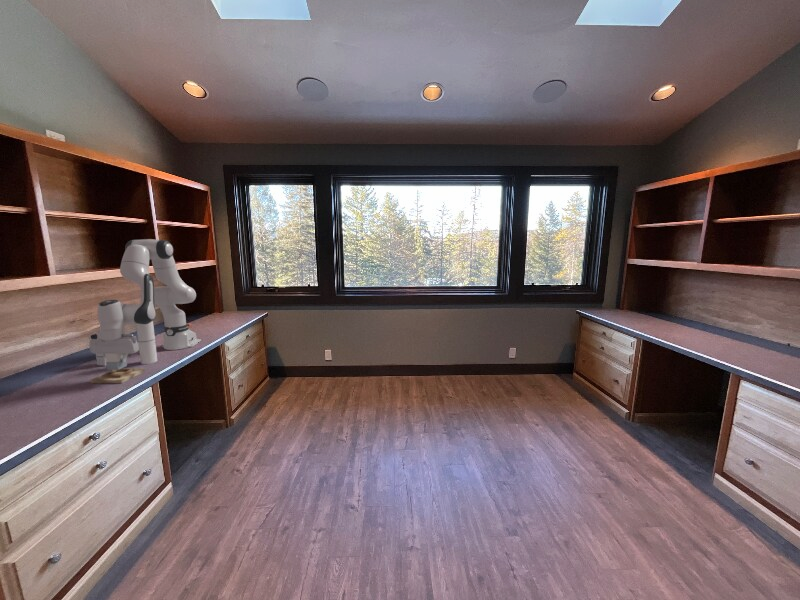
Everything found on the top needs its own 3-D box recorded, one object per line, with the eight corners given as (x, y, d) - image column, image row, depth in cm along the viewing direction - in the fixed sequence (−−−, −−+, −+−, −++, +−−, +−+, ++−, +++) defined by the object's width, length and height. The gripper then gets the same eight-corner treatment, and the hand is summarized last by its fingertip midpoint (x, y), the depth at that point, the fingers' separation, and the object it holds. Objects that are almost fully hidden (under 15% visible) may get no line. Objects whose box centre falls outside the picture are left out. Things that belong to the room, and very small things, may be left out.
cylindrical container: (137, 364, 169) (131, 319, 165) (147, 359, 176) (142, 316, 172) (150, 364, 169) (145, 319, 165) (160, 359, 176) (155, 316, 172)
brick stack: (116, 366, 153) (114, 350, 152) (126, 366, 153) (124, 350, 152) (107, 369, 148) (105, 353, 147) (118, 369, 148) (116, 353, 147)
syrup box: (105, 366, 165) (101, 339, 163) (96, 365, 166) (93, 339, 164) (117, 362, 171) (113, 336, 169) (108, 361, 172) (105, 336, 170)
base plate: (116, 371, 158) (115, 366, 158) (144, 371, 159) (144, 366, 159) (90, 383, 145) (89, 377, 144) (121, 383, 145) (120, 377, 145)
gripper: (140, 332, 152) (143, 359, 154) (97, 332, 151) (101, 359, 153) (130, 336, 146) (133, 364, 148) (84, 335, 145) (88, 364, 147)
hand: (116, 361), depth 150 cm, fingers closed on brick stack, 5 cm apart
